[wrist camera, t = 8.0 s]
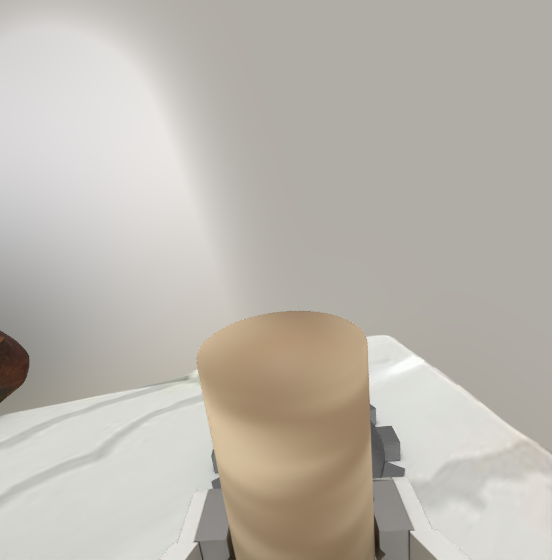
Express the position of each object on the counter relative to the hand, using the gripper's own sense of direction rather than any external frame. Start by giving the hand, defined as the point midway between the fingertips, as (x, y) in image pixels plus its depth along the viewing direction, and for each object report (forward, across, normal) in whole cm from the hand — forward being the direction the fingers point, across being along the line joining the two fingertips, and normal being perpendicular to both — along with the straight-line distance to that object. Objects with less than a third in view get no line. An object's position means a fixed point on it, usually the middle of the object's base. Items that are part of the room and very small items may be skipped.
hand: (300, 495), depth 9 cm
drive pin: (-1, 0, +8) cm, 8 cm away
